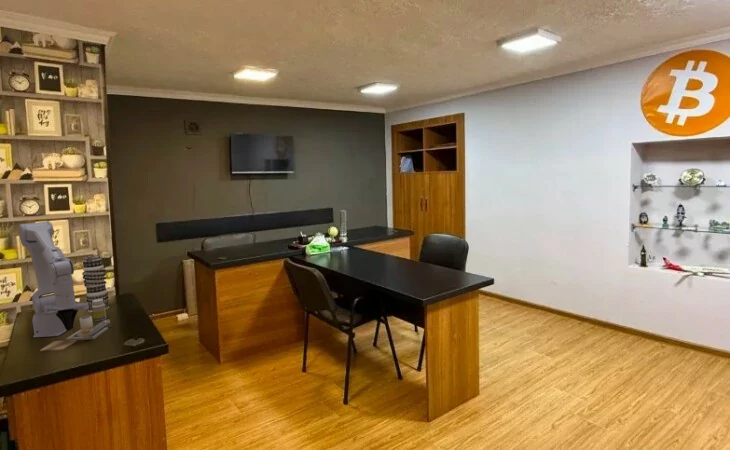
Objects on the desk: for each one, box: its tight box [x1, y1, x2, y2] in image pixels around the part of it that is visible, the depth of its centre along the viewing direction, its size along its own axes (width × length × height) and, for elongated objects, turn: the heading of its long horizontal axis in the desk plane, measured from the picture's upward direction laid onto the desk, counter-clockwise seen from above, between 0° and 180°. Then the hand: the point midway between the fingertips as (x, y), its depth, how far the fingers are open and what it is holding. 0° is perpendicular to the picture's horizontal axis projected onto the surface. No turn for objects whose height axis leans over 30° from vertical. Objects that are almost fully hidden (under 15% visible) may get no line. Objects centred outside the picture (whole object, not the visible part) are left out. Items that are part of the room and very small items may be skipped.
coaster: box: [39, 339, 78, 352], centre depth 154 cm, size 8×8×1 cm
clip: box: [82, 318, 111, 338], centre depth 165 cm, size 3×16×2 cm, turn 4°
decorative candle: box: [81, 254, 110, 313], centre depth 194 cm, size 9×9×25 cm
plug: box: [76, 315, 99, 337], centre depth 164 cm, size 7×7×7 cm
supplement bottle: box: [92, 299, 108, 322], centre depth 181 cm, size 5×5×8 cm
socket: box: [65, 327, 109, 341], centre depth 164 cm, size 10×10×1 cm
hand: (69, 329), depth 156 cm, fingers closed
